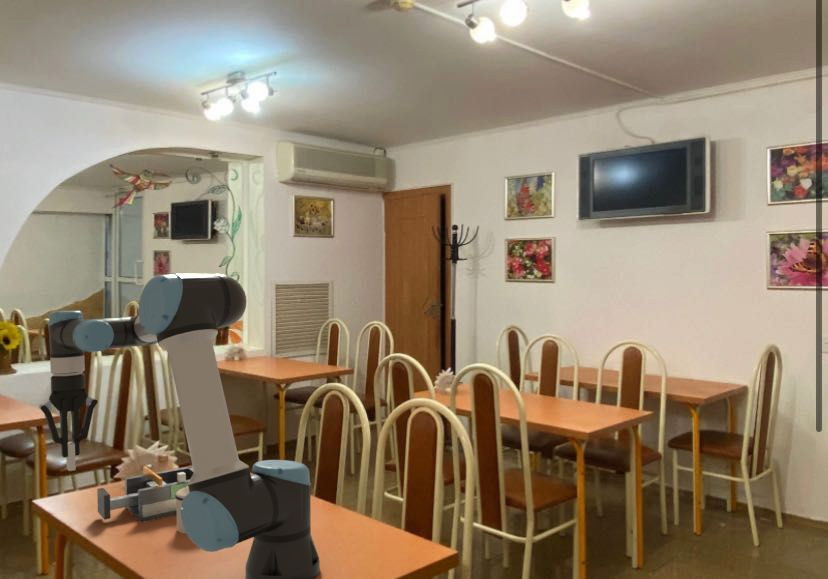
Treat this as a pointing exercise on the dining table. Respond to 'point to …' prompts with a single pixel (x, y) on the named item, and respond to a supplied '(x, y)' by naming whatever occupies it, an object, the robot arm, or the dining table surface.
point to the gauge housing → (156, 494)
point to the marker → (181, 477)
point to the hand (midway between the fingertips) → (71, 469)
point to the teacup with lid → (179, 498)
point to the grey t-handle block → (124, 496)
